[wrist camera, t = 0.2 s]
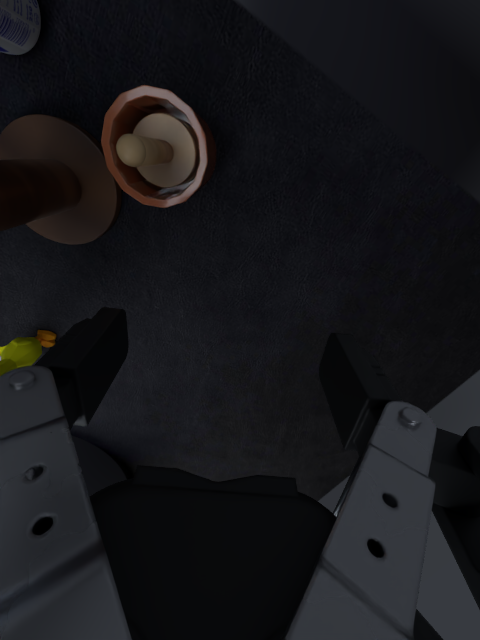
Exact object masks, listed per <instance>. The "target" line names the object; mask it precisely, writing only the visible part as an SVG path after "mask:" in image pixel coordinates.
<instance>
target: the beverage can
mask: <svg viewBox="0 0 480 640" xmlns="http://www.w3.org/2000/svg"><path fill="white" fill-rule="evenodd" d="M40 29H41V17H40V10H39V5H38V2H37V0H0V52H3V53H6V54H10V55H20V54H24V53H26V52H28V51H29V50H31V49H32V48H33V47H34V45H35V44H36V42H37V40H38V37H39V34H40Z"/></svg>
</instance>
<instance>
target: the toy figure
mask: <svg viewBox="0 0 480 640" xmlns="http://www.w3.org/2000/svg"><path fill="white" fill-rule="evenodd" d="M53 339H56V334H54V333H53V332H50V331H45V330H38V335H37V336H36V337H35V338H34V337H26V338H23V337H18V338H16V339H14V340H13V341H11V343H9V344H8V345H7V346H4V347H0V356H1V361H0V376H1V375H3V374H5V373H7V372H9V371H11V370H14V369H16V368H20V367H24V366H31V365H32V364H33V363H34V362H35V361H36V360H37V359H38V358H39V356H40V355H41V354H42V348H41V345H43V346H44V347H51V346H54V345H55V341H54V340H53Z"/></svg>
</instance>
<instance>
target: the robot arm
mask: <svg viewBox="0 0 480 640" xmlns="http://www.w3.org/2000/svg"><path fill="white" fill-rule="evenodd" d="M127 353H128V332H127V320H126V312H125V310H123V309H115V308H106V307H103V308H101V309H100V310H99V311H98V312H97V314H96V315H95V316H94V317H93V318H92V319H85V320H83V321H81V322H79V323H77V324H75V325H73V326H72V327H71V328H70V329H69V330H68V331H67V332H66V335H63V337H62V338H61V339H60V340H59V342H57V343H56V344H55V345H54V346H53V347H52V348H51V349H50V350H49V351H48V352H47V353H46V354H45V355H44V356H43V357H42V358H41V359H40V360H39V361H38V362H37V363H36V364H35V365H34V366H24V367H20V368H16V369H14V370H11V371H9V372H7V373H5V374H3V375H1V376H0V640H443V639H442V638H441V636H440V635H439V634H438V633H437V632H436V631H435V630H434V628H433V627H432V626H431V625H430V624H429V623H428V621H427V620H426V619H425V618H424V617H423V616H422V615H421V613H420V612H419V611H418V610H417V609H416V605H417V599H418V593H419V587H420V581H421V574H422V567H423V561H424V555H425V548H426V543H427V536H428V530H429V524H430V517H431V511H432V512H433V514H434V516H435V518H436V520H437V522H438V524H439V526H440V528H441V530H442V532H443V535H444V537H445V539H446V541H447V543H448V545H449V547H450V549H451V551H452V553H453V555H454V557H455V559H456V562H457V564H458V566H459V568H460V570H461V572H462V574H463V576H464V578H465V580H466V582H467V584H468V587H469V589H470V591H471V593H472V595H473V597H474V599H475V601H476V603H477V605H478V607H479V609H480V427H479V426H474V427H471V428H469V429H468V430H467V432H466V433H465V434H464V436H460V435H457V434H454V433H451V432H448V431H445V430H442V429H438V428H436V426H435V424H434V422H433V420H432V419H431V418H430V417H429V416H428V415H427V414H426V413H425V412H424V411H422V410H421V409H419V408H418V407H416V406H414V405H412V404H409V403H407V402H403V400H402V399H401V397H400V396H399V394H398V393H397V391H396V390H395V388H394V387H393V385H392V384H391V382H390V381H389V379H388V377H387V376H385V373H384V371H383V370H382V368H380V365H379V364H378V362H377V361H376V359H375V358H374V357H373V356H372V355H371V354H370V353H369V352H367V351H366V350H365V349H363V348H360V347H359V345H358V344H357V342H356V340H355V339H354V337H353V336H352V335H348V334H339V333H331V334H330V336H329V338H328V341H327V344H326V347H325V351H324V354H323V357H322V360H321V363H320V367H319V377H320V381H321V384H322V387H323V390H324V393H325V395H326V398H327V401H328V404H329V407H330V410H331V413H332V416H333V419H334V422H335V424H336V427H337V430H338V433H339V436H340V439H341V442H342V445H343V448H344V450H354V451H358V454H359V458H358V460H357V462H356V464H355V466H354V469H353V471H352V473H351V475H350V477H349V480H348V482H347V484H346V486H345V488H344V490H343V493H342V495H341V497H340V499H339V501H338V504H337V505H336V508H335V510H334V512H333V513H332V512H330V511H329V510H328V509H327V508H326V507H324V506H323V505H322V504H320V503H319V502H317V501H316V500H314V499H313V498H311V497H309V496H307V495H305V494H303V493H300V492H297V486H296V479H295V478H288V477H276V476H263V475H255V476H249V477H244V478H238V479H233V480H227V481H222V482H215V481H211V480H209V479H206V478H203V477H200V476H197V475H194V474H191V473H189V472H186V471H183V470H180V469H177V468H164V467H152V466H140V465H138V466H137V469H136V472H135V475H134V478H133V479H129V480H125V481H121V482H118V483H115V484H113V485H110V486H108V487H106V488H104V489H102V490H100V491H98V492H96V493H95V494H93V495H92V496H90V497H89V495H88V491H87V488H86V484H85V481H84V477H83V474H82V471H81V467H80V464H79V460H78V457H77V453H76V450H75V447H74V443H73V440H72V436H71V433H70V430H71V428H72V426H73V425H78V426H87V425H88V424H89V422H90V420H91V418H92V417H93V415H94V413H95V411H96V410H97V408H98V406H99V404H100V403H101V401H102V399H103V397H104V396H105V394H106V392H107V390H108V389H109V387H110V385H111V383H112V382H113V380H114V378H115V376H116V375H117V373H118V371H119V369H120V368H121V366H122V364H123V362H124V361H125V359H126V356H127Z"/></svg>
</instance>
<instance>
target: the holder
mask: <svg viewBox="0 0 480 640" xmlns="http://www.w3.org/2000/svg"><path fill="white" fill-rule="evenodd" d="M153 113H165V114H168V115H171V116H173V117H176V118H179V119H181V120H183V121H185V122H187V123H188V124H190V125H191V126H192V128H193V130H194V132H195V134H196V136H197V137H198V147H199V156H200V162H199V165H198V169H197V172H196V175H195V178H194V180H192V181H190V182H188V183H186V184H183V185H178V186H175V187H170V188H164V187H159V186H156V185H154V184H152V183H151V182H149V181H148V180H146V179H145V178H144V177H143V176H142V175H141V173H140V172H139V171H138V169H137V167H131V166H128V165H126V164H124V163H123V162H122V161H121V159H120V158H119V156H118V154H117V151H116V144H117V141H118V139H119V138H120V137H121V136H122V135H124V134H133V131H134V129H135V127H136V125H137V124H138V123H139V121H140V120H142V119H143V118H144V117H146V116H148V115H150V114H153ZM101 144H102V148H103V152H104V156H105V160H106V164H107V168H108V170H109V171H110V173H111V174H112V175H113V177H114V178H115V180H116V181H117V183H118V184H119V186H120V187H121V189H122V190H123V191H124V192H126V193H127V194H129V195H130V196H132V197H133V198H135V199H136V200H137V201H139V202H140V203H142V204H144V205H150V206H155V207H161V208H167V207H170V206H174V205H177V204H180V203H183V202H185V201H187V200H188V199H189V198H190V197H192V196H193V195H194V194H196V193H197V192H198V191H199V190H200V189H201V188H202V187H203V186H204V185H205V184H206V183H207V182H208V181H209V180H210V179H211V176H212V174H213V171H214V169H215V164H216V160H217V159H216V145H215V139H214V137H213V135H212V133H211V131H210V129H209V127H208V125H207V123H206V122H205V120H204V119H203V118H202V117H200V116H199V115H198V114H197V113H196V112H195V111H194V110H193V109H192V108H191V107H190V106H189V105H187V104H186V103H185V102H184V101H183V100H181V99H180V98H179V97H178V96H177V95H175V94H174V93H173V92H172V91H170V90H167V89H163V88H158V87H153V86H149V85H141V86H139V87H136V88H133V89H131V90H128V91H126V92H123V93H121V94H120V95H119V96H118V97H117V99H116V100H115V101H114V103H113V104H112V106H111V107H110V108H109V110H108V111H107V112H106V115H105V118H104V125H103V131H102V138H101Z"/></svg>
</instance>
